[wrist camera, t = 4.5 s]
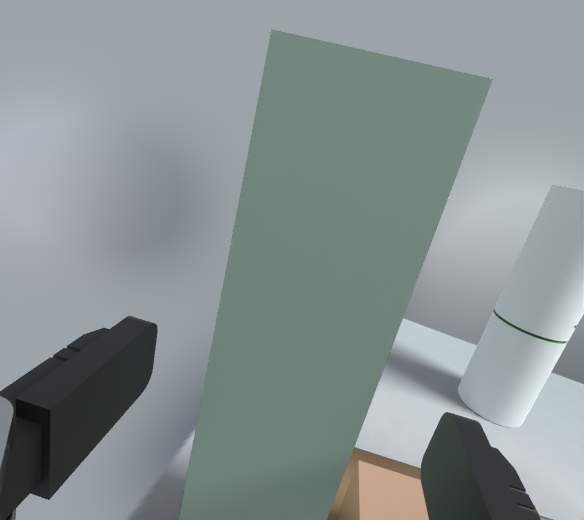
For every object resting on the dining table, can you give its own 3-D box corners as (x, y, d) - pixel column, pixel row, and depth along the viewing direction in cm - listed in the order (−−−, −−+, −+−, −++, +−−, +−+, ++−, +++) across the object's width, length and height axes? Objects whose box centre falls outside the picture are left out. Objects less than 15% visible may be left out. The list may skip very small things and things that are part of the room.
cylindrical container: (529, 413, 42) (644, 207, 34) (512, 437, 37) (642, 203, 29) (470, 376, 47) (559, 188, 39) (447, 394, 42) (544, 182, 34)
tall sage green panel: (227, 458, 19) (312, 92, 13) (300, 482, 18) (419, 117, 13) (158, 624, 12) (271, 29, 6) (271, 667, 12) (492, 79, 6)
